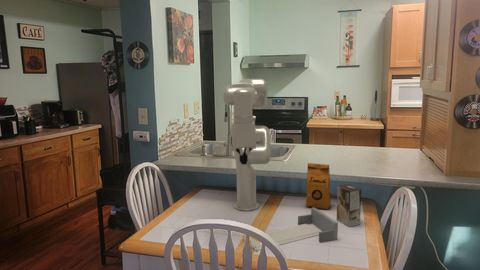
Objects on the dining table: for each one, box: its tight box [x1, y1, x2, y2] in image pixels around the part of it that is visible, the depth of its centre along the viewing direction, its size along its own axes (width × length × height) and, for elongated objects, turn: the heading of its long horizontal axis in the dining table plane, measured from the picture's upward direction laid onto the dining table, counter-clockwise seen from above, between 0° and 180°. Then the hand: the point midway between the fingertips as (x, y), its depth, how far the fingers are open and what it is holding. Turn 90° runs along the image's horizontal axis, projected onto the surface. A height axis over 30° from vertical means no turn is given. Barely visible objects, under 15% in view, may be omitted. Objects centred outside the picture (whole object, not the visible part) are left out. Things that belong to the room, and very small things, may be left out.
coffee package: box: [305, 162, 332, 210], centre depth 180 cm, size 10×12×22 cm
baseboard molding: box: [242, 224, 320, 253], centre depth 147 cm, size 31×3×12 cm
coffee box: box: [336, 184, 362, 228], centre depth 161 cm, size 9×6×16 cm
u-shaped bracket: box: [297, 207, 339, 243], centre depth 152 cm, size 18×8×7 cm, turn 19°
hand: (243, 163), depth 150 cm, fingers closed
